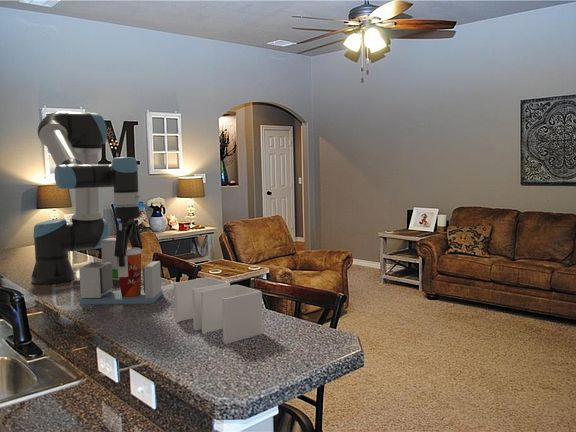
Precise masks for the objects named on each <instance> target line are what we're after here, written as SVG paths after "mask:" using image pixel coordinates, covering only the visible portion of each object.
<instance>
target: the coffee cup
mask: <svg viewBox="0 0 576 432" xmlns="http://www.w3.org/2000/svg"><path fill="white" fill-rule="evenodd" d="M142 253H143V251H142V249H140V248H137V247H132V246H131V247H129V246H128V248H127V251H126V256H127V262H128V277H119V280H118V281H119V287H120V288H119V289H120V291H121V295H122V296H123V297H133V296H138V295H140V294H141V290H142ZM117 262H118V256H117Z"/></svg>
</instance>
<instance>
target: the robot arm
mask: <svg viewBox="0 0 576 432" xmlns="http://www.w3.org/2000/svg"><path fill="white" fill-rule="evenodd" d="M37 136H38V139H39V140H40V142H41V144H42V145H44V146H45V147H46V148H47V150H48V151H49V154H50V156H51V158H52V160H53V162H54V164H55V167H54V181H55V185H56V187H57V188H58V189H64V190H65V189H67V190H72V189H73V190H74V189H75V190H74V193H75V194H74V197H75V199H74V202H75V213H74V214H73V215H72V216H71V221H67V219H65V218H57V219H50V220H44V221H40V222H38V223H35V225H33V236H32V237H33V241H34V243H33V244H34V258H35V262H34V266H33V270H32V273H31V283H32V284H35V285H51V284H59V283H65V282H70V281H72V280H74V279H75V272H74V269H73V267H72V264H71V262H70V260H69V253H70V252H78V251H87V250H95V249H102V246H101V245H102V244H101V240H102V239H107V238H109V237H108V236H109V227H108V224H109V223H108V222H107V220H106V219H104V216H103V214H101V213H100V209H99V208H100V207H99V206H100V205H99V200H100V199H99V188H113V202H114V203H113V204H114V206H115V208H114V218H115V219H117V220H120V223H116V225H115V226H116V235H115V238H116V243H115V254H114V256H118V271H119V277H128V262H127V256H126V251H127V246H128V247H129V242H130V245H131V247H137V248H140V249H141V250H143V248H144V246H143V241H142V237H141V232H140V226H139V217H140V207H139V206H138V205H139V204H140V203H139V202H140V201H139V200H140V198H141V194H139V177H138V176H139V175H138V174H139V173H138V169H139V168H138V163H137V162H138V161H137V159H136V158H135V157H134V156H133V157H129V156H128V157H127V156H126V157H125V156H123V157H120V156H119V157H113V158H112V159H111V162H112V163H111V164H110V163H108V164H103V163H102V164H100V163H99V152H100V151H102V149H103V144H106V143H107V141H108V139H107V138H108V130H107V124H106V122H105V120H104V118H103V116H102V115H101V114H100V113H97V112H89V111H88V112H84V111H81V112H80V111H61V110H60V111H55V112H51V113H49V114H48V115H45V116H44V117H43V118H42V119H41V121H40V122H39V125H38V126H37Z"/></svg>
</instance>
